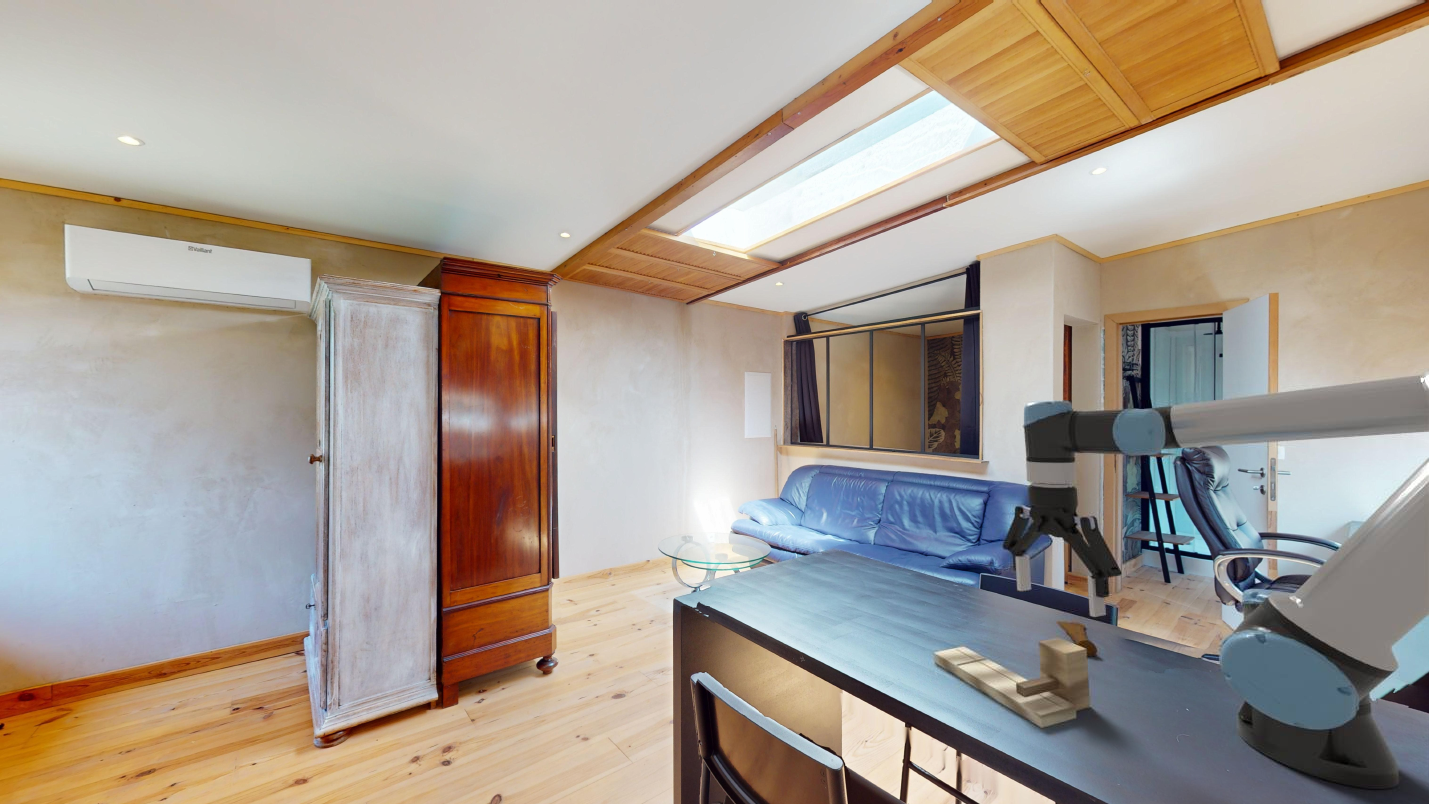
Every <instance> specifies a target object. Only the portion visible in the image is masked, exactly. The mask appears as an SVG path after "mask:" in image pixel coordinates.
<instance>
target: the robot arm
mask: <svg viewBox="0 0 1429 804" xmlns="http://www.w3.org/2000/svg"><path fill="white" fill-rule="evenodd" d="M1072 405H1073V404H1072V402H1070V401H1068V400H1053V401H1033V402H1028V403H1027V404H1026V405H1024V409H1023V425H1022V428H1023V431H1024V432H1023V433H1024V434H1023V435H1024V446H1025V455H1026V456H1025V459H1026V461H1025V463H1026V464H1025V467H1026V469H1025V470H1026V481H1027V482H1028V483H1030V484H1029V485H1027V498H1028V499H1027V502H1028V504H1029V505H1030V506H1029V505H1027V504H1026V505H1016V506H1015V507H1014V516H1013V517H1014V518H1013V519H1012V523H1011V524H1010V527H1009V529H1008V531H1007V534H1006V536H1005V538H1004V541H1003V544H1002V548H1003V550H1005V551H1008V552H1010V553H1011V556H1012V567H1013V571H1014V572H1016V574H1015V575H1016V590H1017V591H1019V592H1025V591H1030V590H1032V583H1031V582H1032V581H1031V561H1030V555H1028V551H1029V549H1030V548H1031V547H1032V546H1033V545H1034V544H1035V543H1036V541H1037V540H1039V538H1040V537H1041V536H1042V535H1044V536H1050V535H1051V536H1052V537H1055V538H1057V539H1058V538H1062V540H1063V541H1064V542H1066V543H1067V544H1068V545H1069V546H1070V547H1071V549H1072V550H1073V551H1074V553H1075V554H1076V555H1077V556H1078V558H1079V559H1080V561H1081V562H1082V564H1083V565H1084V566H1085V567H1086V568H1087V570H1088V571H1089V573H1090V574H1091V575H1088V576H1087V590H1088V592H1087V593H1088V607H1089V616H1090V617H1093V618H1097V617H1102V616H1106V615H1107V612H1106V611H1107V610H1106V598H1109V596H1110V589H1109V588H1110V587H1109V585H1110V584H1109V578H1114V577H1119V576H1121V575H1122V570H1121V569H1120V566H1119V565H1118V563H1117V561H1116V559H1115V558H1114V556H1113V553H1112V552H1111V550H1110V548H1109V546H1108V545H1107V542H1106V541H1105V538H1104V537H1103V535H1102V533H1101V531H1100V528H1099V523H1098V519H1097V517H1096V516H1094V515H1091V516H1079V515H1078V513H1077V507H1078V506H1079V501H1078V500H1079V498H1078V488H1076V486H1073V485H1075V484H1077V471H1076V470H1077V469H1076V454H1077V453H1078V454H1098V455H1126V456H1131V457H1135V456H1144V455H1145V456H1151V455H1152V456H1154V455H1158V454H1160V453H1162V451H1163V450H1175V449H1185V448H1186V449H1187V448H1199V447H1201V448H1202V447H1213V446H1214V447H1215V446H1218V447H1219V446H1229V445H1230V446H1233V445H1243V444H1244V445H1245V444H1246V445H1247V444H1258V443H1259V444H1261V443H1263V444H1264V443H1275V442H1276V443H1277V442H1291V441H1292V442H1293V441H1306V440H1307V441H1308V440H1309V441H1310V440H1321V439H1322V440H1324V439H1333V438H1334V439H1336V438H1353V437H1368V436H1370V437H1371V436H1381V435H1382V436H1384V435H1397V434H1398V435H1399V434H1400V435H1401V434H1415V433H1427V432H1428V433H1429V369H1427V370H1426V371H1424V372H1423V373H1422V374H1418V375H1410V376H1409V375H1408V376H1403V377H1402V376H1401V377H1395V378H1387V379H1377V380H1370V381H1361V382H1353V383H1347V384H1338V385H1337V384H1336V385H1331V386H1330V385H1329V386H1321V387H1314V388H1313V387H1312V388H1306V389H1305V388H1304V389H1297V390H1290V391H1281V392H1271V393H1264V394H1257V395H1256V394H1255V395H1250V396H1249V395H1247V396H1241V397H1232V398H1224V399H1217V400H1215V399H1214V400H1207V401H1202V402H1201V401H1199V402H1192V403H1184V404H1177V405H1175V404H1174V405H1168V406H1158V407H1157V406H1156V407H1151V408H1144V409H1143V408H1142V409H1140V408H1125V409H1124V408H1123V409H1105V410H1103V409H1102V410H1087V411H1086V410H1084V411H1082V410H1074V408H1073V406H1072ZM1030 518H1031V520H1032V522H1031V524H1030V525H1029V526H1028V528H1027V530H1026V532H1025V529H1026V527H1027V525H1028V522H1029V520H1030ZM1077 526H1078V527H1077ZM1079 529H1081V531H1080V530H1079ZM1024 532H1025V533H1024ZM1084 538H1085V539H1084ZM1240 605H1241V607H1242V611H1243V620H1242V621H1241V622H1240V624H1238V626H1237V627H1236V629H1235V630H1234V631H1233V632H1232V633H1231V634H1229V635H1227V637H1225V638H1224V639H1223V640H1222V641H1221V642H1222V643H1221V645H1220V648H1219V659H1218V660H1219V666H1220V669H1221V671H1222V674H1223V676H1224V678H1225V680H1226V682H1227V683H1228V685H1229V686H1230V687H1231V688H1232V689H1233V691H1234V692H1235V693H1236V694H1237V695H1238V696H1239V697H1240V698H1241V699H1242V700H1241V703H1240V706H1239V709H1238V711H1237V714H1236V727H1237V733H1238V734H1239V736H1240V737H1241V738H1242V739H1243V741H1244V742H1245V743H1247V744H1248V745H1250V746H1251V747H1252V748H1254V749H1255V750H1257V751H1258V752H1260V753H1262V754H1264V755H1265V756H1267V757H1269V758H1270V759H1273V760H1274V761H1276V762H1279V763H1281V764H1283V765H1285V766H1287V767H1290V768H1293V769H1294V770H1297V771H1300V772H1302V773H1305V774H1308V775H1310V776H1314V777H1315V778H1316V777H1317V778H1320V779H1323V780H1327V781H1329V782H1333V783H1338V784H1341V785H1346V786H1351V787H1355V788H1362V789H1373V790H1374V789H1375V790H1386V789H1392V788H1395V787H1397V786H1398V785H1399V783H1400V776H1399V775H1400V774H1399V766H1398V763H1397V760H1396V758H1395V755H1393V753H1392V752H1393V751H1391V748H1390V747H1389V746H1388V743H1387V742H1386V740H1385V737H1384V736H1383V734H1382V732H1381V730H1380V728H1379V726H1378V725H1377V723H1376V721H1375V719H1374V717H1373V713H1372V705H1371V704H1372V703H1371V694H1370V693H1371V692H1372V691H1374V689H1375V688H1377V687H1378V686H1379V685H1380V684H1381V683H1383V681H1385V680H1386V679H1388V678H1389V677H1390V676H1391V675H1392V674H1393V673H1395V672H1396V671H1397V670H1398V669H1399V662H1398V661H1397V659H1396V657H1395V654H1394V652H1393V650H1392V649H1393V646H1394V645H1396V644H1397V643H1398V642H1399V641H1400V640H1401V639H1402V638H1404V636H1406V635H1407V634H1408V633H1409V632H1410V631H1412V629H1414V628H1415V627H1416V626H1417V625H1418V624H1420V623H1421V622H1422V621H1423V620H1425V618H1427V617H1428V616H1429V457H1427V458H1426V460H1424V461H1423V463H1422V464H1421V465H1420V466H1419V467H1418V468H1416V470H1415V471H1414V472H1413V473H1412V474H1411V475H1410V476H1409V477H1408V478H1407V479H1406V480H1405V481H1404V482H1403V483H1402V484H1401V485H1400V486H1399V487H1398V488H1397V489H1396V490H1395V491H1394V492H1393V493H1392V494H1391V495H1390V496H1389V497H1388V498H1387V499H1386V500H1384V502H1383V503H1382V504H1381V505H1380V506H1379V507H1378V508H1377V509H1376V510H1375V511H1374V512H1373V513H1372V514H1371V515H1370V516H1369V517H1368V518H1367V519H1366V520H1365V521H1364V522H1363V523H1362V524H1361V525H1360V526H1359V527H1358V528H1357V530H1355V531H1354V532H1353V533H1352V534H1351V535H1350V536H1349V537H1348V538H1347V539H1346V540H1345V541H1344V543H1342V545H1340V546H1339V547H1338V549H1336V551H1334V552H1333V553H1332V555H1331V556H1330V557H1328V558H1327V560H1326V561H1324V563H1323V564H1322V565H1321V566H1320V567H1318V569H1317V570H1316V571H1315V572H1314V573H1313V574H1312V575H1311V576H1310V577H1308V579H1307V580H1306V581H1305V582H1304V583H1303V584H1302V585H1300V587H1299V588H1298V589H1297V590H1296V591H1295V592H1286V591H1280V590H1272V589H1263V588H1262V589H1261V588H1249V589H1245V590H1244V591H1243V592H1242V596H1241V601H1240Z"/></svg>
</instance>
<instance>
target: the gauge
mask: <svg viewBox="0 0 1429 804" xmlns="http://www.w3.org/2000/svg"><path fill="white" fill-rule="evenodd" d="M1038 646H1039V647H1038V650H1039V662H1040V663H1039V664H1040V666H1039V667H1040V677H1036V678H1033V679H1027V680H1028V681H1024V682H1020V683H1016V691H1017V693H1018V694H1020V695H1021V696H1023V697H1029V696H1033V695H1037V694H1041V693H1044V692H1048V691H1049V692H1051V693H1053V694H1055V695H1056V696H1058V697H1060V698H1062V699H1064V700H1066V701H1068V702H1070V703H1071V704H1073V705H1075V706H1076V712H1078V711H1080V710H1084V709H1087V708H1090V707H1091V697H1090V684H1089V683H1090V681H1089V668H1088V666H1089V665H1088V656H1087V650H1086V649H1085V648H1083V647H1081V646H1078V645H1077V644H1076V643H1073V642H1070V641H1068V640H1066V639H1063V638H1060V637H1053V638H1050V639H1045V640H1042V641H1038Z"/></svg>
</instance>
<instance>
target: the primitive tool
mask: <svg viewBox="0 0 1429 804" xmlns="http://www.w3.org/2000/svg"><path fill="white" fill-rule="evenodd" d="M1056 623H1057V625H1058V626H1059V627H1060V628H1061V629H1063V631H1064V632H1065V633H1066V634H1067V635H1068V636H1069V637H1070V638H1071V639H1072V641H1073V642H1074V644H1076V645H1078V646H1081V647H1083V648H1085V649H1086V650H1087V657H1094V656H1096V655H1097V653H1098V648H1097V646H1096V645H1095V644H1094V643H1093V642H1092V641H1090V640H1089V639H1088V637H1087V634H1086V631H1085V630H1086V629H1087V627H1086V626H1085V625H1084V624H1082V623H1081V622H1076V621H1074V622H1073V621H1072V622H1067V621H1056Z"/></svg>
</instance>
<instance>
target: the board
mask: <svg viewBox="0 0 1429 804" xmlns="http://www.w3.org/2000/svg"><path fill="white" fill-rule="evenodd" d="M933 656H934V658H933V660H934V661H933V662H934V663H935V664H937V665H939V666H940V667H942V669H945V670H946V671H947V672H950V673H951V674H953V675H954V676H956V677H958V678H960V679H962V680H963V681H964V682H966V683H968V684H969V685H971V686H972V687H973V688H976V689H977V690H979V691H980V692H982V693H983V694H985V695H987V696H989V697H990V698H992V699H994V700H996V701H997V702H998V703H1000V704H1002V705H1004V706H1005V707H1007V708H1008V709H1010V710H1012V711H1013V712H1015V713H1016V714H1018V715H1020V716H1021V717H1023V718H1025V719H1026V720H1027V721H1030V722H1031V723H1033V724H1035V725H1036V726H1038V727H1039V728H1041V729H1042V728H1046V727H1050V726H1054V725H1057V724H1059V723H1060V724H1061V723H1063V722H1067V721H1071V720H1074V719H1077V711H1076V706H1075V705H1073V704H1071V703H1070V702H1068V701H1066V700H1064V699H1062V698H1060V697H1058V696H1056V695H1055V694H1053V693H1051V692H1049V691H1048V692H1044V693H1041V694H1037V695H1033V696H1029V697H1023V696H1021V695H1020V694H1018V693H1017V691H1016V683H1020V682H1024V681H1028V680H1029V679H1026V678H1025V677H1023V676H1020V675H1019V674H1016V673H1015V672H1013V671H1011V670H1009V669H1008V668H1005V667H1004V666H1001V665H999V664H998V663H996V662H994V661H992V660H990V659H988V658H986V657H984V656H983V655H981V654H979V653H977V652H975V651H973V650H971V649H970V648H968V647H966V646H959V647H954V648H949V649H945V650H940V651H935V652H933Z"/></svg>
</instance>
